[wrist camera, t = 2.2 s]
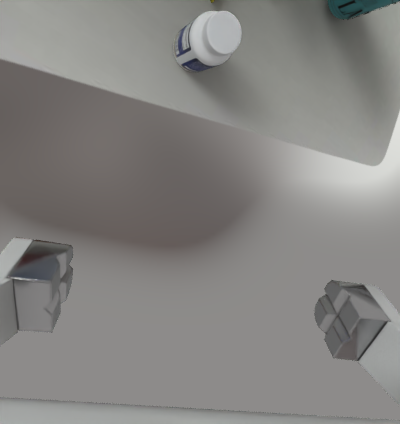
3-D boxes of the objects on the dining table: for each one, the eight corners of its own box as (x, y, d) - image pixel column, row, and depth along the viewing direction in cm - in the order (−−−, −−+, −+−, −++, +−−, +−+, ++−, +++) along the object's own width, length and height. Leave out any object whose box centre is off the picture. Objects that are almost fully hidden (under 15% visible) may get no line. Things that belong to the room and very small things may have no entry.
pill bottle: (218, 56, 42) (257, 41, 33) (188, 81, 41) (219, 73, 32) (195, 17, 39) (230, -10, 30) (163, 43, 39) (190, 23, 30)
